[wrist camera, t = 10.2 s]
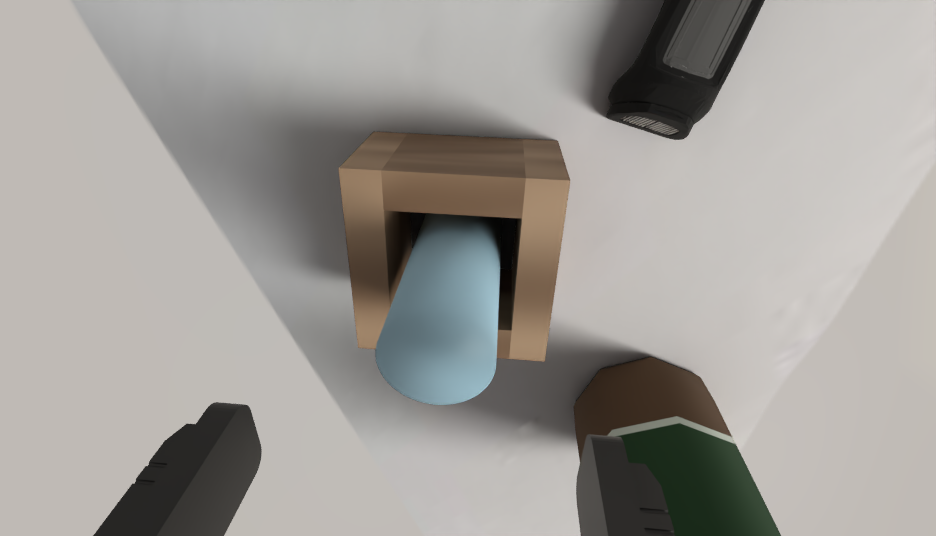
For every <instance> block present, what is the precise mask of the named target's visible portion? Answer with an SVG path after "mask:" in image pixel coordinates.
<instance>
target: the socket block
mask: <svg viewBox="0 0 936 536" xmlns="http://www.w3.org/2000/svg"><path fill="white" fill-rule="evenodd" d="M339 177H340V186H341V196H342V205H343V214H344V223H345V232H346V241H347V250H348V259H349V269H350V278H351V287H352V296H353V305H354V314H355V323H356V332H357V341H358V348H367V349H376V344H377V341H378V339H379V336H380V333H381V331H382V328H383V325H384V323H385V320H386V318H387V315H388V312H389V310H390V307H391V304H392V302H393V299H394V297H395V294H396V291H397V289H398V286H399V283H400V281H401V278H402V276H403V273H404V270H405V268H406V265H407V262H408V260H409V257H410V255H411V252H412V244H411V214H410V212H418V213H435V214H452V215H469V216H487V217H504V218H516V224H515V235H514V247H513V258H512V269H500V284H499V309H498V334H497V358H504V359H517V360H531V361H545V355H546V348H547V341H548V334H549V327H550V320H551V313H552V306H553V299H554V292H555V285H556V278H557V270H558V263H559V256H560V249H561V242H562V235H563V228H564V221H565V214H566V207H567V200H568V193H569V186H570V178H569V175H568V172H567V169H566V165H565V162H564V159H563V156H562V153H561V149H560V146H559V143H558V141H553V140H533V139H512V138H492V137H472V136H452V135H431V134H411V133H391V132H373V133H372V134H371V135H370V136H369V137H368V138H367V139H366V140H365V141H364V142H363V143H362V144H361V145H360V146H359V148H358V149H357V150H356V151H355V152H354V153H353V154H352V155H351V156H350V157H349V158H348V159H347V160H346V161H345V162H344V163H343V164H342V165H341V166H340V167H339Z"/></svg>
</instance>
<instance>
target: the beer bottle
mask: <svg viewBox="0 0 936 536" xmlns="http://www.w3.org/2000/svg"><path fill="white" fill-rule="evenodd" d="M574 417H575V430H576V437H577V444H578V451H579V458H580V462H581V457H582V453H583V449H584V444H585V440H586V437H587V435H588V434H591V435H603V436H615V437H621V438H622V440H623V442H624V446H625V450H626V454H627V458H628V462H629V463H639V464H646V466H647V467H648V468H649V470H650V471H651V472H652V474H653V475H654V477H655V478H656V479H657V481H658V482H659V484H660V485H661V487H662V491H663V494H664V497H665V501H666V504H667V508H668V515H670V518H671V521H672V525H673V528H674V535H675V536H781V535H780V533H779V531H778V529H777V527H776V524H775V522H774V521H773V518H772V516H771V515H770V513H769V510H768V508H767V506H766V505H765V502H764V500H763V498H762V496H761V494H760V492H759V490H758V488H757V486H756V484H755V482H754V480H753V478H752V476H751V474H750V472H749V470H748V468H747V466H746V464H745V462H744V460H743V458H742V456H741V454H740V452H739V450H738V448H737V446H736V444H735V442H734V440H733V438H732V436H731V434H730V432H729V430H728V428H727V426H726V424H725V422H724V420H723V418H722V416H721V413H720V411H719V409H718V407H717V405H716V403H715V401H714V400H713V398H712V396H711V394H710V393H709V391H708V389H707V388H706V386H705V384H704V383H703V381H702V379H701V378H700V377H699V376H697V375H696V374H694V373H691V372H688V371H686V370H683V369H681V368H678V367H676V366H673V365H671V364H668V363H666V362H663V361H661V360H658V359H656V358H653V357H648V358H644V359H640V360H636V361H632V362H627V363H623V364H619V365H615V366H611V367H607V368H603V369H600V371H599V372H598V373H597V375H596V376H595V377H594V379H593V380H592V381H591V382H590V384H589V385H588V386H587V388H586V389H585V390H584V392H583V393H582V394H581V396H580V397H579V398H578V400H577V401H576V403H575V405H574Z"/></svg>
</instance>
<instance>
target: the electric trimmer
mask: <svg viewBox="0 0 936 536" xmlns="http://www.w3.org/2000/svg"><path fill="white" fill-rule="evenodd" d="M764 1H765V0H665V2H664V4H663V6H662V9H661V11H660V13H659V15H658V18H657V20H656V22H655V24H654V26H653V28H652V30H651V32H650V34H649V36H648V38H647V40H646V42H645V44H644V46H643V48H642V50H641V52H640V54H639V56H638V58H637V59H636V61H635V62H634V64H633V66H632V67H631V68H630V69H629V70H628V71H627V72H626V73H625V74H624V75H623V76H622V77H621V78H620V79H619V80H618V81H617V82H616V83H615V85H614V86H613V88H612V90H611V92H610V94H609V96H608V99H609V101H610V102H611V104H612V105H611V106H610V108H609V110H608V113H607V116H606V117H607V118H608V119H610V120H613V121H616V122H619V123H623V124H626V125H629V126H632V127H635V128H638V129H641V130H644V131H647V132H650V133H653V134H656V135H659V136H663V137H666V138H669V139H674V140H681V139H684V138H686V137H687V136H688V135H689V133H690V131H691V129H692V127H693V125H694V124H695V123H696V122H698V121H699V120H700V119H701V118H703V117H704V116H705V115H706V114H707V113H708V112H709V110H710V109H711V107H712V105H713V103H714V101H715V99H716V97H717V95H718V93H719V91H720V89H721V87H722V85H723V84H724V82H725V80H726V78H727V76H728V74H729V72H730V70H731V68H732V66H733V64H734V62H735V60H736V58H737V56H738V54H739V52H740V50H741V48H742V46H743V44H744V42H745V40H746V38H747V36H748V34H749V32H750V30H751V28H752V26H753V24H754V22H755V19H756V17H757V15H758V13H759V11H760V9H761V7H762V5H763V3H764ZM632 102H633V103H632Z"/></svg>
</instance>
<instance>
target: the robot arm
mask: <svg viewBox="0 0 936 536" xmlns="http://www.w3.org/2000/svg"><path fill="white" fill-rule="evenodd" d="M260 460H261V444H260V441H259V437H258V434H257V431H256V427H255V423H254V420H253V417H252V413H251V410H250V408H249V406H247V405H242V404H230V403H218V402H216V403H213V404H211V405H210V406H209V407H208V408H207V409H206V411H205V412H204V413H203V415H202V416H201V418H200V419H199V421H198V422H197V423H196V424H186V425H185V426H183V427H182V428H181V429H180V430H178V431H177V432H176V433H174V434H173V435H172V436H171V437H169V438H168V439H167V440H165V441H164V443H163V444H162V445H161V447H160V448H159V449H158V451H157V452H156V453H155V455H154V456H153V457H152V459H151V460H150V462H149V465H148V466H146V467H145V468H144V469H143V471H142V472H141V473H140V475H139V476H138V477H137V478H136V482H135V484H132V485H131V487H130V488H129V489H128V491H127V492H126V493H125V494H124V496H123V497H122V498H121V500H120V501H119V502H118V504H117V505H116V506H115V508H114V509H113V510H112V512H111V513H110V514H109V516H108V517H107V518H106V520H105V521H104V522H103V524H102V525H101V526H100V528H99V529H98V530H97V532H96V533H95V534H94V535H93V536H224V534H225V532H226V531H227V529H228V527H229V525H230V523H231V521H232V519H233V517H234V515H235V513H236V511H237V509H238V508H239V506H240V504H241V502H242V500H243V498H244V496H245V494H246V492H247V490H248V488H249V486H250V484H251V483H252V481H253V479H254V477H255V475H256V473H257V470H258V468H259V464H260ZM576 495H577V507H578V515H579V524H580V532H581V536H675V535H674V528H673V525H672V521H671V518H670V515H668V508H667V504H666V501H665V497H664V494H663V491H662V487H661V485H660V484H659V482H658V481H657V479H656V478H655V477H654V475H653V474H652V472H651V471H650V470H649V468H648V467H647V466H646V464H639V463H629V462H628V458H627V454H626V450H625V446H624V442H623V440H622V438H621V437H615V436H603V435H591V434H588V435H587V437H586V440H585V444H584V449H583V453H582V457H581V462H580V466H579V471H578V475H577V486H576Z"/></svg>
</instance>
